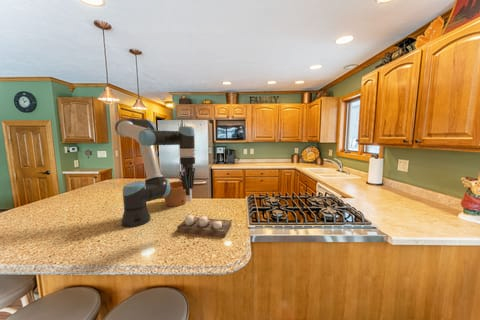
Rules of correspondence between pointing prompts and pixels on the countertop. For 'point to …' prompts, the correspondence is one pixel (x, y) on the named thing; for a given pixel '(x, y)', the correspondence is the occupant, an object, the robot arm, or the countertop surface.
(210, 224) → the board
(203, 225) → the button
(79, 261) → the countertop surface
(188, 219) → the button
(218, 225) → the button
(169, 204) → the flower pot
